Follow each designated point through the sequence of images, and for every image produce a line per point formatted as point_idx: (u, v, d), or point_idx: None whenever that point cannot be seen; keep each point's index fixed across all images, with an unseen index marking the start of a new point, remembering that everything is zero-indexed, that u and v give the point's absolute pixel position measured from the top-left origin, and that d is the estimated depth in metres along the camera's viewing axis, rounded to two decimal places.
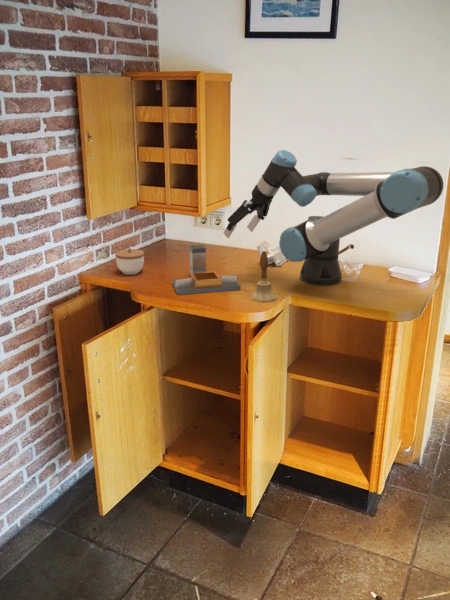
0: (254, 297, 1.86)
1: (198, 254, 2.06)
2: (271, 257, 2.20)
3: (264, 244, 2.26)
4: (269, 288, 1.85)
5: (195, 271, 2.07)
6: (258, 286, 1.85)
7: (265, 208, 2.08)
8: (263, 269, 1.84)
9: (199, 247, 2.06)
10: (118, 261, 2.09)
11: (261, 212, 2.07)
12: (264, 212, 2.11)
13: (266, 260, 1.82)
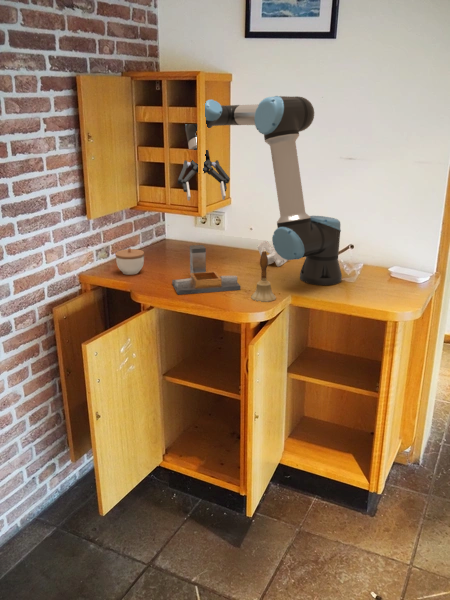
0: (254, 297, 1.86)
1: (198, 254, 2.06)
2: (272, 257, 2.20)
3: (265, 244, 2.26)
4: (269, 288, 1.85)
5: (195, 271, 2.07)
6: (258, 286, 1.85)
7: (220, 171, 2.18)
8: (263, 269, 1.84)
9: (199, 247, 2.06)
10: (118, 261, 2.09)
11: (215, 173, 2.16)
12: None
13: (266, 260, 1.82)
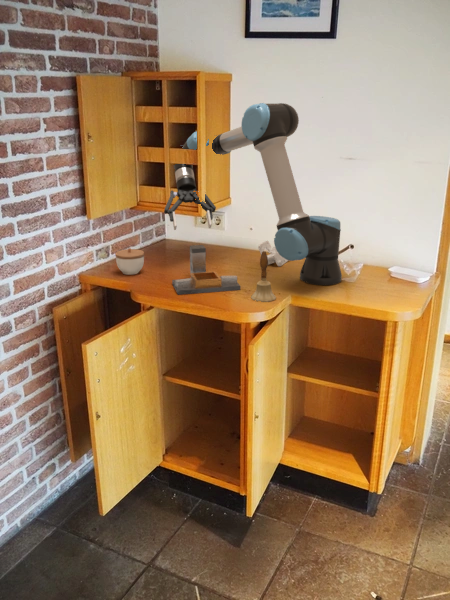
0: (254, 297, 1.86)
1: (198, 254, 2.06)
2: (272, 257, 2.20)
3: (266, 244, 2.26)
4: (269, 288, 1.85)
5: (195, 271, 2.07)
6: (258, 286, 1.85)
7: (206, 200, 2.21)
8: (263, 269, 1.84)
9: (199, 247, 2.06)
10: (118, 261, 2.09)
11: (201, 202, 2.20)
12: None
13: (266, 260, 1.82)
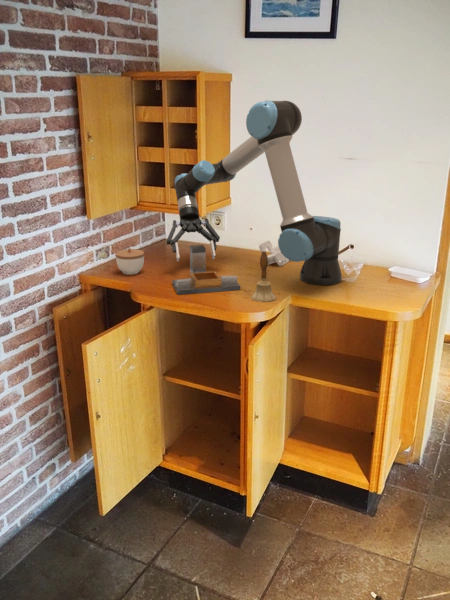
0: (254, 297, 1.86)
1: (198, 254, 2.06)
2: (273, 257, 2.20)
3: (267, 244, 2.26)
4: (269, 288, 1.85)
5: (195, 271, 2.07)
6: (258, 286, 1.85)
7: (210, 230, 2.15)
8: (263, 269, 1.84)
9: (199, 247, 2.06)
10: (118, 261, 2.09)
11: (205, 232, 2.13)
12: None
13: (266, 260, 1.82)
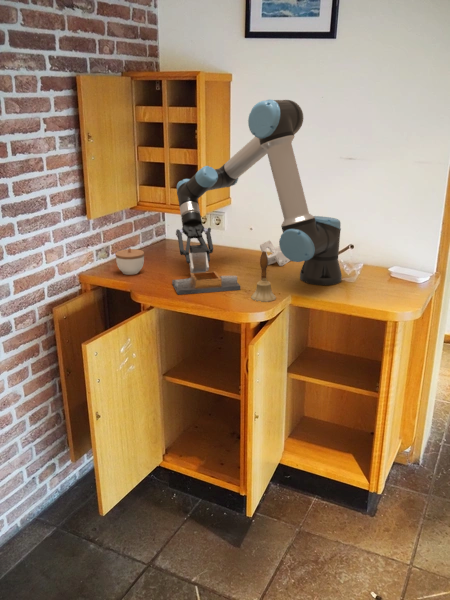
0: (254, 297, 1.86)
1: (198, 254, 2.06)
2: (274, 257, 2.20)
3: (268, 244, 2.26)
4: (269, 288, 1.85)
5: (195, 271, 2.07)
6: (258, 286, 1.85)
7: (208, 239, 2.12)
8: (263, 269, 1.84)
9: (199, 247, 2.06)
10: (118, 261, 2.09)
11: (202, 241, 2.10)
12: None
13: (266, 260, 1.82)
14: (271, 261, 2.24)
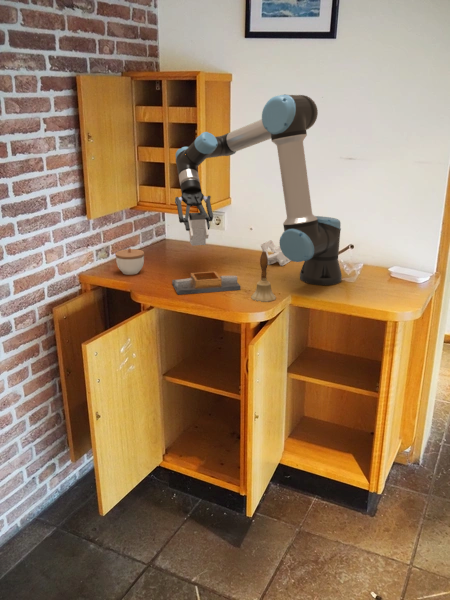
0: (254, 297, 1.86)
1: (198, 221, 2.01)
2: (275, 256, 2.21)
3: (269, 243, 2.27)
4: (269, 288, 1.85)
5: (195, 239, 2.03)
6: (258, 286, 1.85)
7: (207, 207, 2.08)
8: (263, 269, 1.84)
9: (199, 214, 2.02)
10: (118, 261, 2.09)
11: (202, 208, 2.06)
12: None
13: (266, 260, 1.82)
14: (272, 261, 2.24)
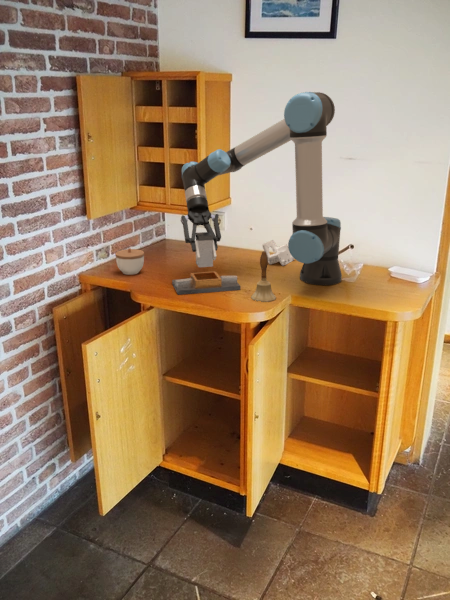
0: (254, 297, 1.86)
1: (205, 242, 1.90)
2: (276, 256, 2.21)
3: (271, 243, 2.27)
4: (269, 288, 1.85)
5: (201, 260, 1.92)
6: (258, 286, 1.85)
7: (215, 227, 1.96)
8: (263, 269, 1.84)
9: (206, 234, 1.91)
10: (118, 261, 2.09)
11: (209, 228, 1.95)
12: None
13: (266, 260, 1.82)
14: (273, 260, 2.24)
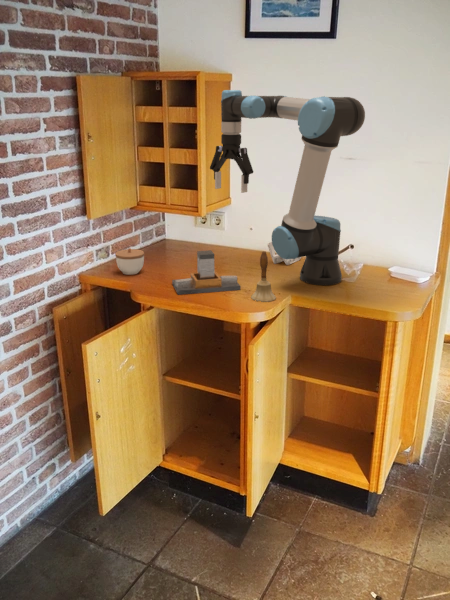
0: (254, 297, 1.86)
1: (207, 260, 1.92)
2: None
3: None
4: (269, 288, 1.85)
5: (203, 278, 1.94)
6: (258, 286, 1.85)
7: None
8: (263, 269, 1.84)
9: (207, 253, 1.93)
10: (118, 261, 2.09)
11: (238, 164, 2.11)
12: None
13: (266, 260, 1.82)
14: (278, 260, 2.25)
